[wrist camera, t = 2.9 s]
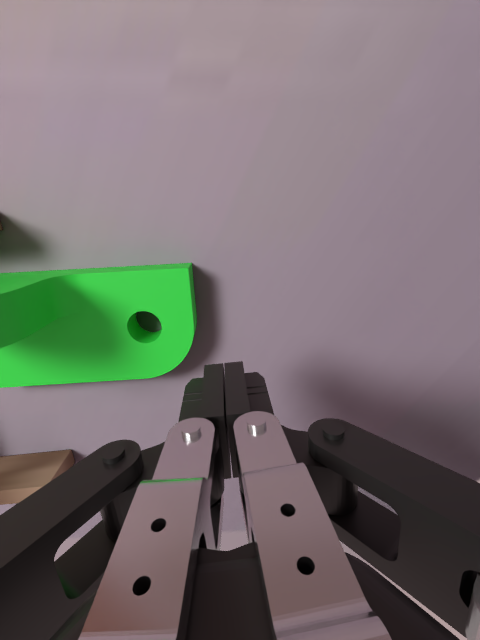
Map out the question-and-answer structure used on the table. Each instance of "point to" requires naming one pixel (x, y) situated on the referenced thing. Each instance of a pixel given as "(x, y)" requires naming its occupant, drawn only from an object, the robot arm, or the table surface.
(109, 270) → the mechanical part
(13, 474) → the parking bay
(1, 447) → the table surface
